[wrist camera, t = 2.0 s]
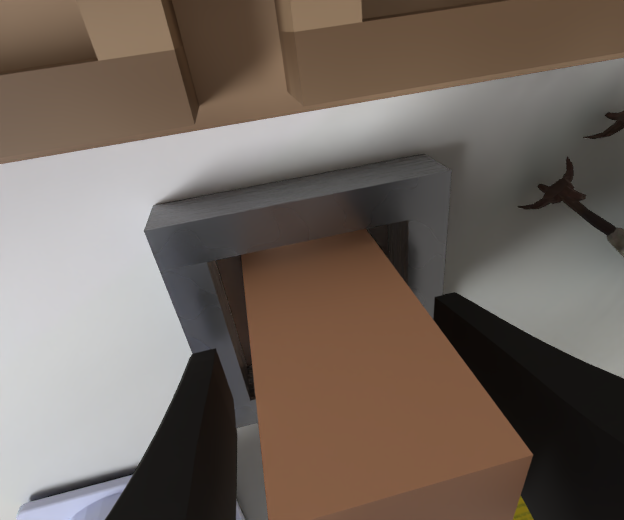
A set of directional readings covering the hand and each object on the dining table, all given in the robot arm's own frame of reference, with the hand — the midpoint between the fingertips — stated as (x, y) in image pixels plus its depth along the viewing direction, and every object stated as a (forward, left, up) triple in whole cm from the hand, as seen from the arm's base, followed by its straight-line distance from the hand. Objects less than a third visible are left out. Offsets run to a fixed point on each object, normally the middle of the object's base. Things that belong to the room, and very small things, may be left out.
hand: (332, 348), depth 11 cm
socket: (0, 0, -3) cm, 3 cm away
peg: (0, 0, -3) cm, 3 cm away
